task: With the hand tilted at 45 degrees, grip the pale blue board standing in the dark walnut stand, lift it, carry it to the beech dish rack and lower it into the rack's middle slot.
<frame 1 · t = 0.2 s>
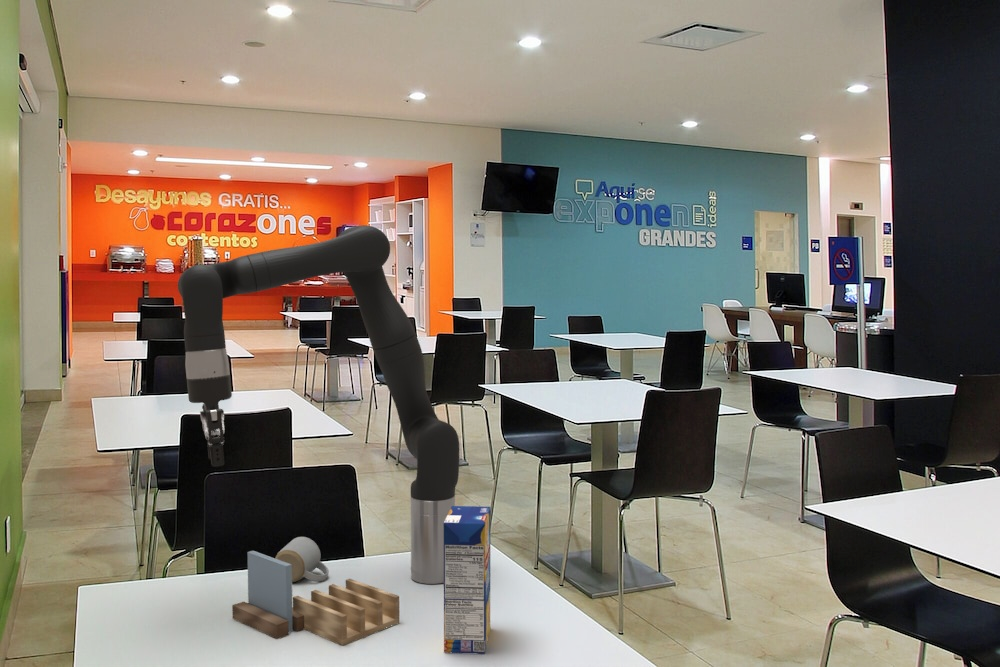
hand: (216, 462, 158), 29 cm above the table, tool pointing down, fingers open, 8 cm apart
beverage box: (467, 641, 149), on the table
ceramic mug: (303, 578, 181), on the table
stand: (270, 622, 156), on the table
rack: (346, 623, 156), on the table
pale blue board: (270, 623, 156), resting in stand
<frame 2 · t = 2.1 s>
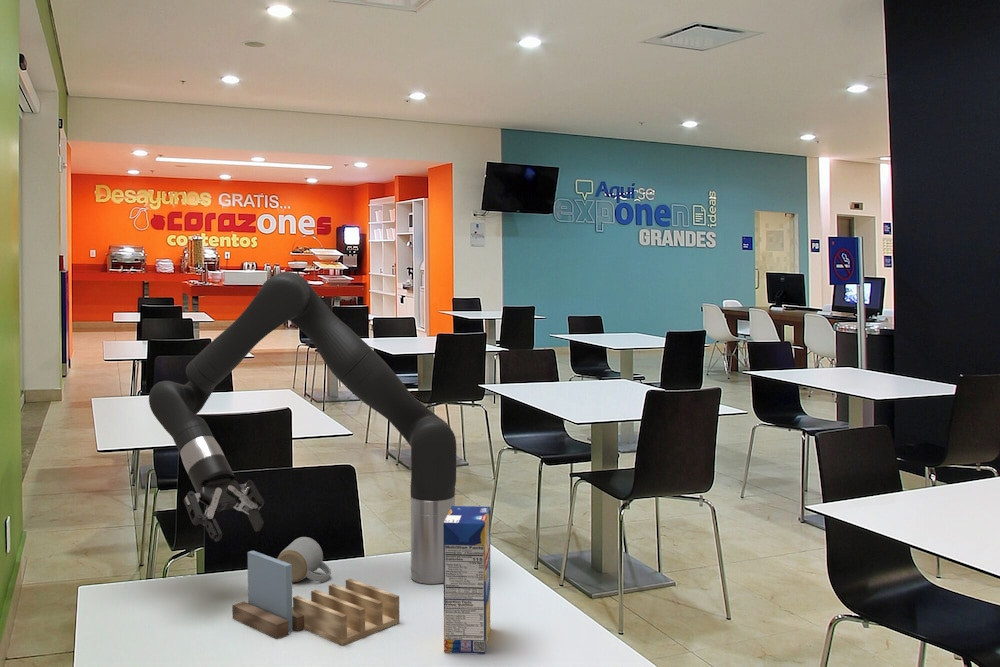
hand: (239, 533, 162), 14 cm above the table, tool tilted 45°, fingers open, 8 cm apart
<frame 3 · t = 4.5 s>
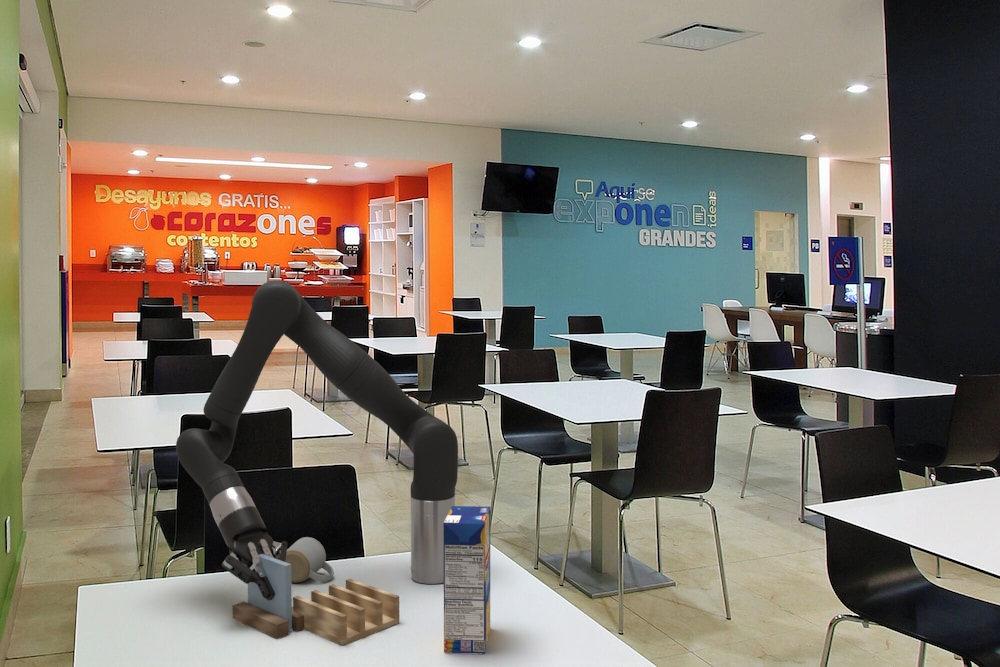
hand: (276, 596, 155), 5 cm above the table, tool tilted 45°, fingers closed on pale blue board, 1 cm apart
pale blue board: (269, 623, 156), resting in stand, touching gripper
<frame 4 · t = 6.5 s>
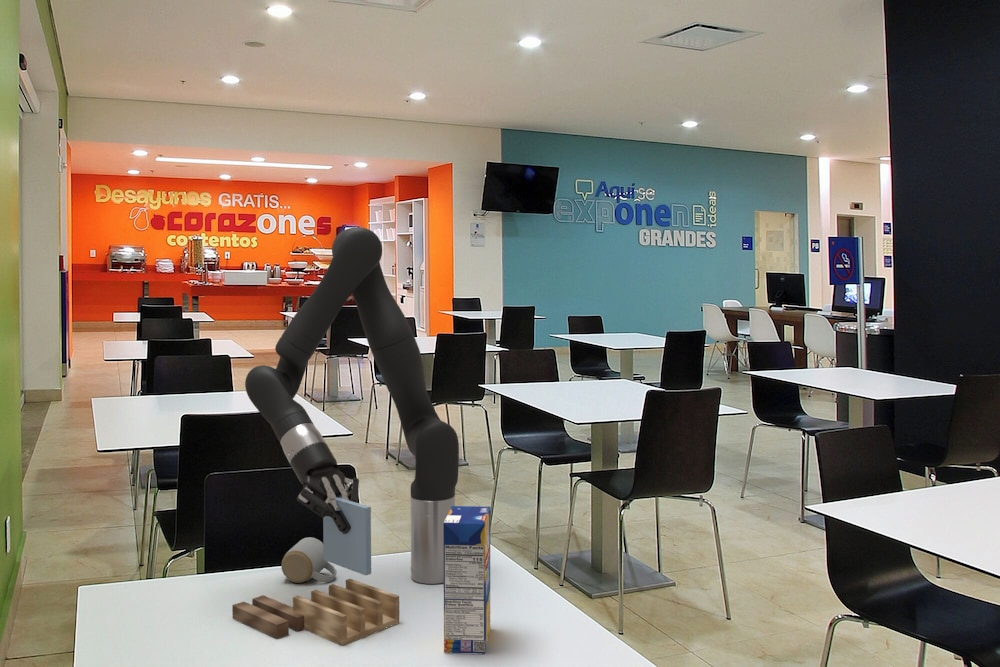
hand: (351, 530, 154), 18 cm above the table, tool tilted 45°, fingers closed on pale blue board, 1 cm apart
pale blue board: (346, 566, 155), point 11 cm above the table, touching gripper
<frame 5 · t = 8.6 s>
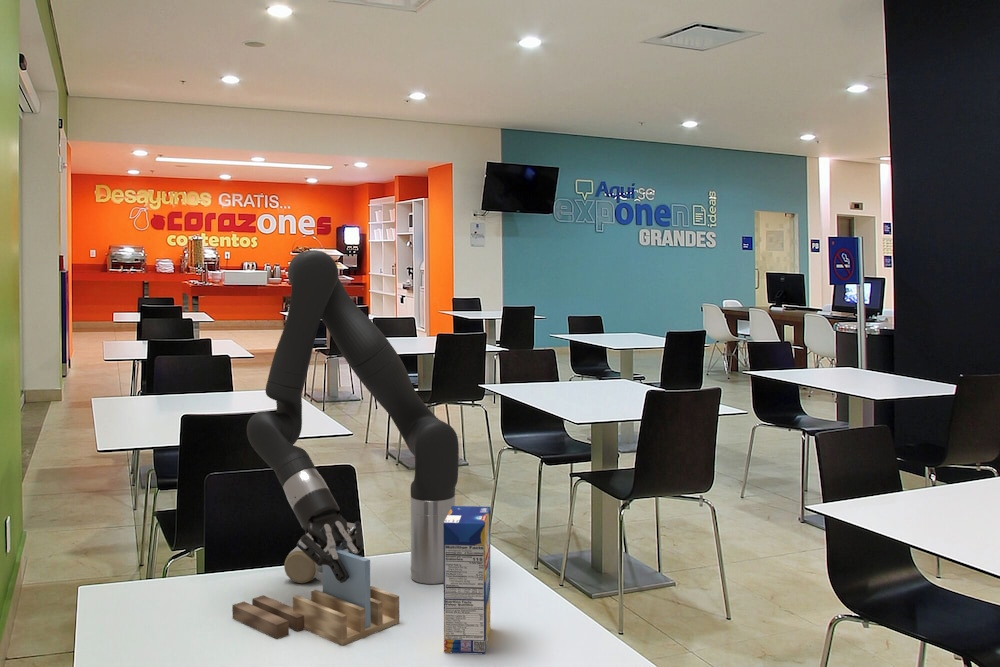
hand: (353, 577, 154), 9 cm above the table, tool tilted 45°, fingers open, 3 cm apart
pale blue board: (346, 618, 156), point 1 cm above the table, touching rack
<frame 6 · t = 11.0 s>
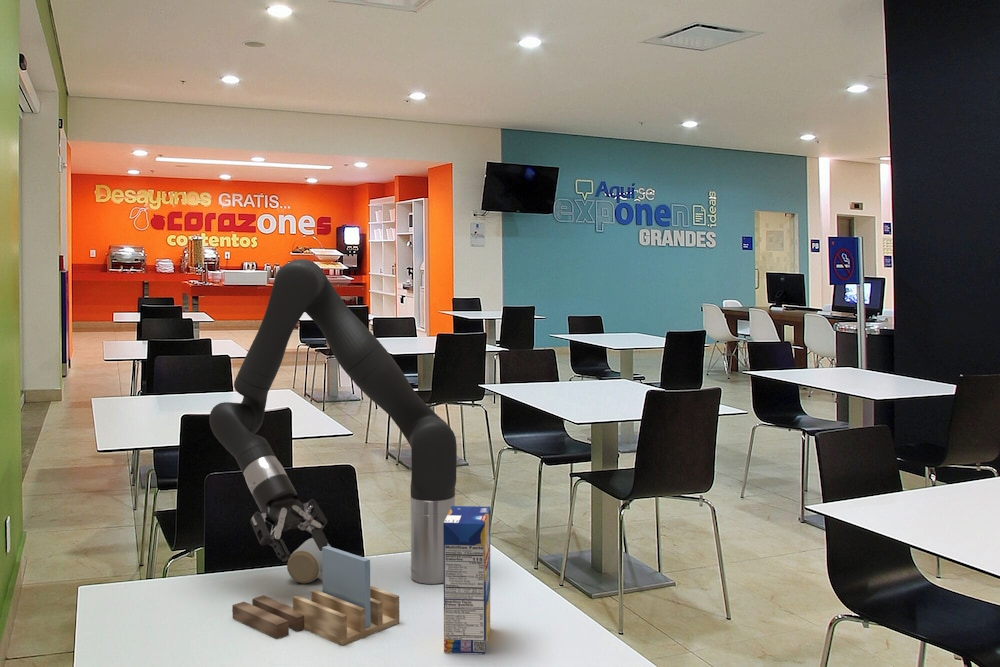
hand: (306, 553, 163), 10 cm above the table, tool tilted 45°, fingers open, 8 cm apart
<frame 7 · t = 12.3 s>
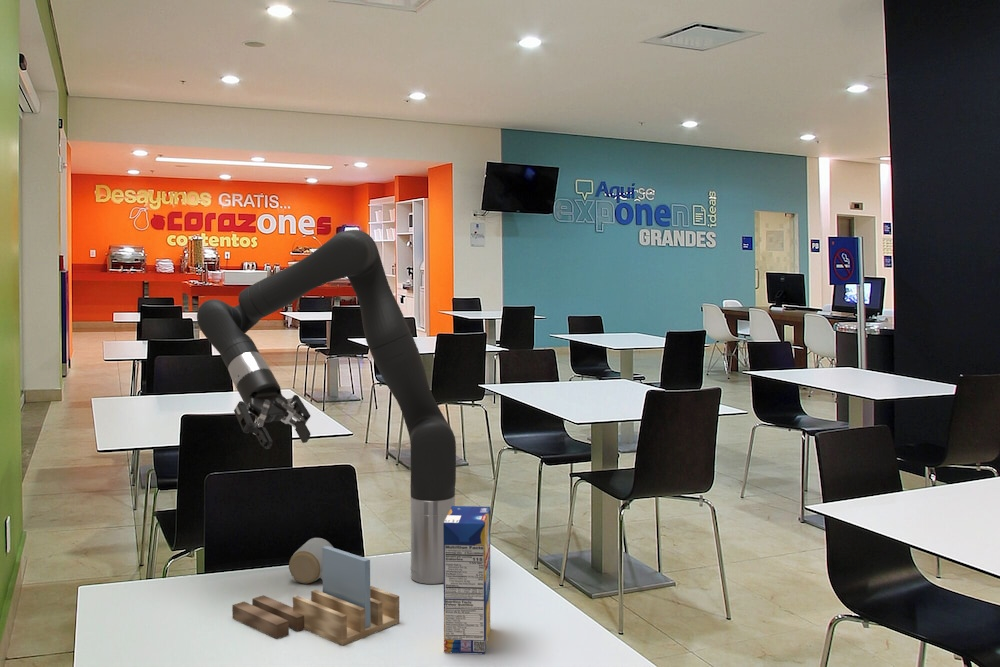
hand: (288, 443, 166), 31 cm above the table, tool tilted 45°, fingers open, 8 cm apart
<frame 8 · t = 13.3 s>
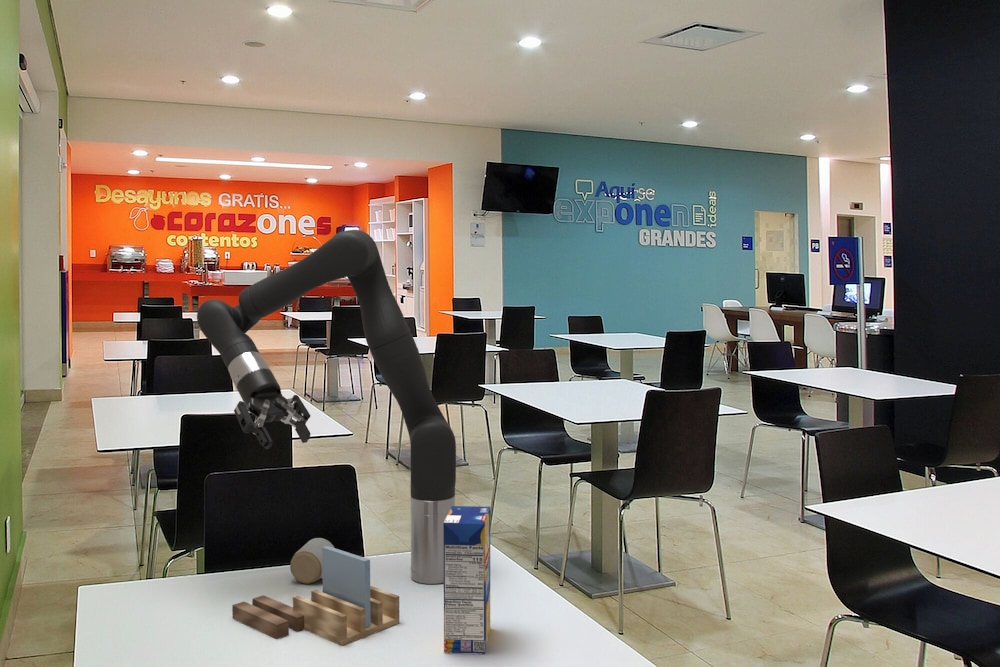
hand: (288, 443, 166), 31 cm above the table, tool tilted 45°, fingers open, 8 cm apart
at the end: pale blue board inside the target area on the rack (0.2 cm from its centre), point 1.0 cm above the rack's base; pale blue board tilted 0°; the gripper is holding nothing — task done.
